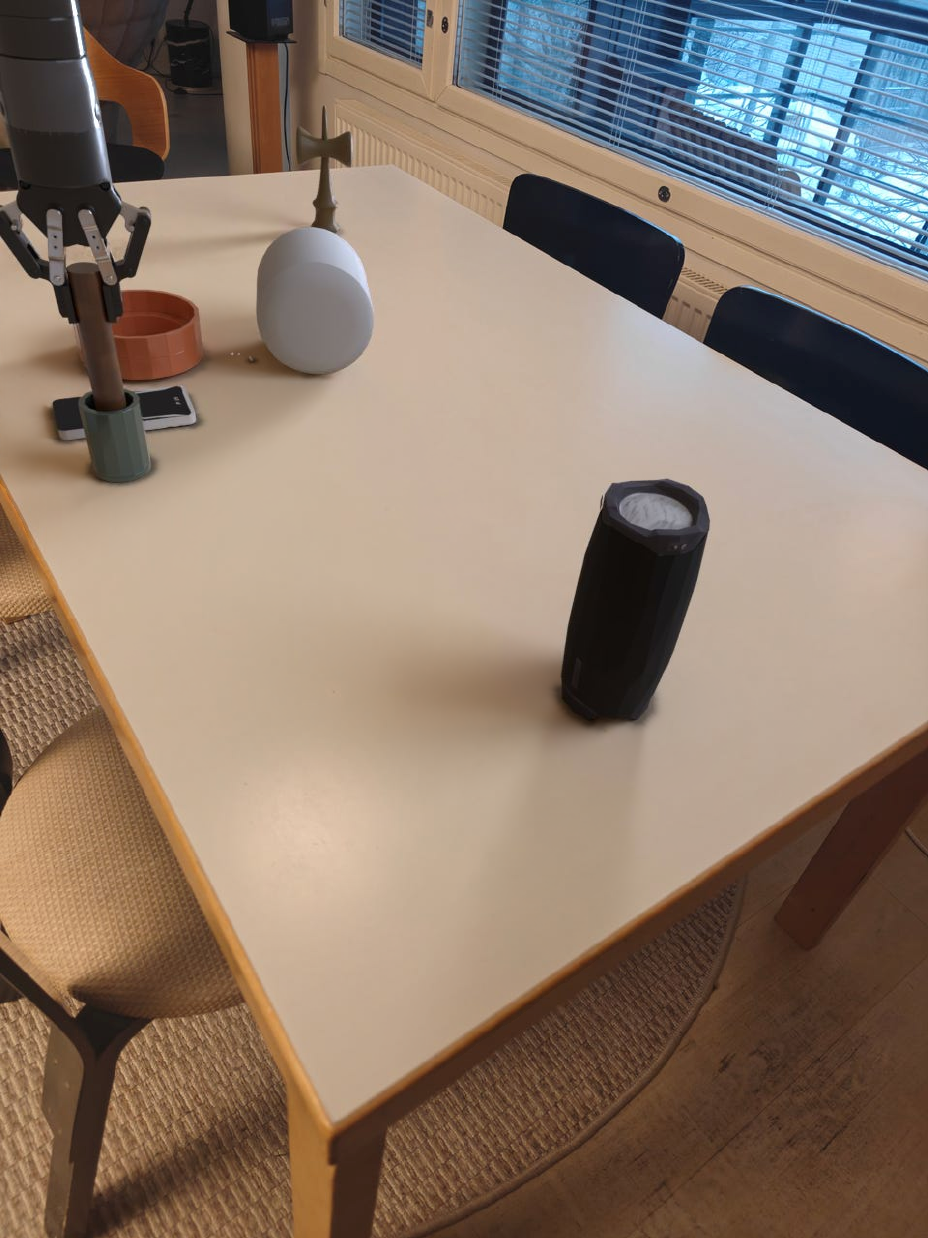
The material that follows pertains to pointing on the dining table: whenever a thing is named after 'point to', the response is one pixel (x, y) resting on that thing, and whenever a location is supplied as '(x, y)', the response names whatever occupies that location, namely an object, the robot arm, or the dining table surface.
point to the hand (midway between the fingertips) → (93, 319)
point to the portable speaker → (632, 596)
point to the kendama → (324, 168)
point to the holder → (116, 439)
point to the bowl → (154, 335)
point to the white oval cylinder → (313, 301)
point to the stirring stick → (96, 336)
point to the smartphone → (156, 406)
